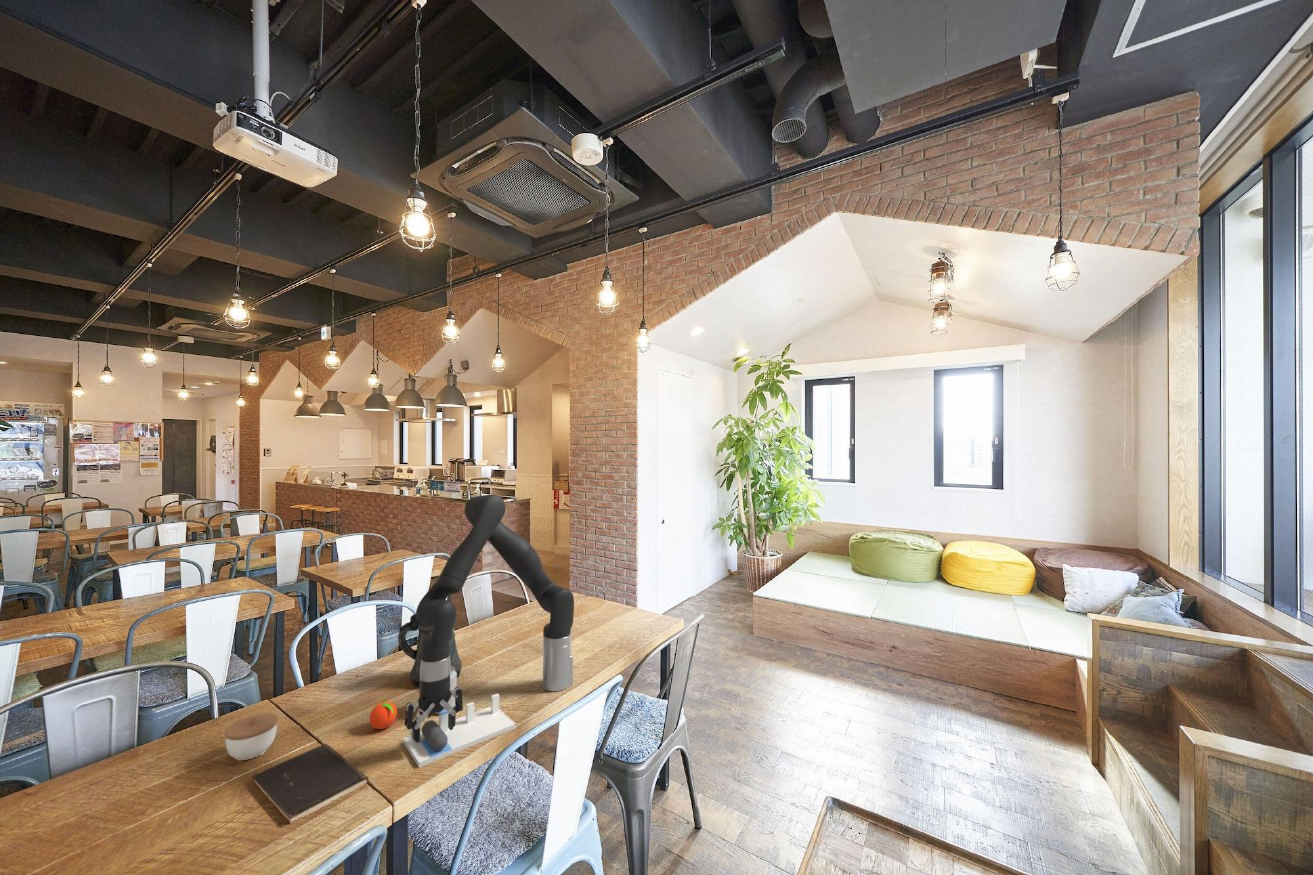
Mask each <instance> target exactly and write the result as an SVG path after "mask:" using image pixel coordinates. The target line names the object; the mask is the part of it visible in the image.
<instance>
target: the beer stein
mask: <svg viewBox="0 0 1313 875" xmlns="http://www.w3.org/2000/svg"><path fill="white" fill-rule="evenodd" d="M409 618H410V619H409V622H406V623H405V624H403V625H402V626H401V627H400V628H399V632H398V637H397V642H398V645H399V647H400V649H401V651H402V652H403V653H404V654H406V656H408V657H409V658H410V659H412V660H414V662H413V664H412V668H411V670H410V678H411V683H412V685H413V686H414V687H417V688H419V689H420V665H421V645H422V640H423V638H424V637H425V636H426V635H428V634H431V633H433V626H429V625H424V624H421V623H419V622H418V621H417V618H416V613H414V614H412V615H411V616H410V617H409ZM417 630H418V636H417V643H416V649H413V648H412V647H411V646H410V645H409V643H408V642H407V640H406V636H407V633H408V632H414V631H417ZM455 636H456V635H455V630H454V628H453V631H452V634H451V638H450V666H451V667H453V668H454V669H455V670H454V671H456V673H457V679H458V678H459V677H460V674H461V672H462V671H461V670H462V666H463V665H462V664H463V663H462V660H461V658H460V656H459V652H458V649H457V644H456V637H455Z"/></svg>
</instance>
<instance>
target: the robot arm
mask: <svg viewBox="0 0 1313 875" xmlns="http://www.w3.org/2000/svg"><path fill="white" fill-rule="evenodd" d="M505 514H506V504H505V501H504V499H503V497H501V496H500V495H498V494H484V495H476V496H474V497H471V498H470V499H468V500H467V501H466V503H465V505H464V515H465V517H466V519H467V521H468V522H469V523H470V524H471V526H472V527H471V529H470V532H469V533H468V534H467V536H466V537H465V538H464V539H463V540H462V542H461V543H460V544H459V545H458V546H457V547H456V549H454V551H453V552H452V554H451V555H450V556H449V558H448V560H447V561H446V563H445V565H444V567H443V569H442V570H441V573H440V574H439V577H438V579H437V580H436V582H434V584H433V585H432V586H431V587H430V588H429V590H427V592H426V593H425V594H424V595H423V597H422V598H421V599H420V601H419V603H418V605H417V607H416V612H415V614H416V618H417V621H418V622H419V623H421V624H424V625H429V626H433V633H431V634H428V635H426V636H425V637H424V638H423V640H422V645H421V665H420V688H419V693H418V694H419V698H418V700H417V701H414V702H411V701H408V702H406V704H405V710H404V711H405V713H404V726H405V727H406V729H407V730H409V731H410V729H412V738H413V740H414V741H416V743H418V742H420V732H421V728H420V727H421V726H422V725H423V723H424V722H425V720H426V719H427V717H429V716H432V715H434V713H437V712H441V711H442V710H443V709H444V708H445V709H446V710H447V711H448V728H449V729H450V730H453V727H455V722H456V721H455V720H456V719H457V718H456V715H457V713H459V712H461V711H463V709H464V707H463V706H464V704H463V702H464V701H463V690H462V689H461V688H460V687H459V686H458V685H457V687H455V689H454V690H451V691H450V671H451V667H450V638H451V634H452V631H453V629H454V628H455V623H456V620H457V608H456V605H455V604H454V602H452V601H450V600H448V599H447V598H448V597H449V596H451V595H454V594H455V595H456V594H458V593H460V592H461V591H462V589H463V587H464V585H465V583H466V582H467V579H468V577H469V575H470V572H472V568H473V566H474V564H475V563H476V560H477V559H478V558H479V555H480V554H481V553H482V550H483V549H484V547H485V546H486V544H487V543H488V542H489V543H490V544H491V546H492V547H493V548H494V549H495V551H496V552H497V553H498V555H500V557H501V558H502V559H503V561H504V562H505V563H506V565H508V567H509V569H511V570H512V572H513V573H514V574H515V575H516V576H517V578H519V579H520V581H521V582H522V583H523V584H524V585H526V587H527V588H528V590H530V592H531V593H532V595H533V597H534V598H535V600H536V602H537V603H538V605H539V607H541V608H542V610H543V611H545V612H546V613H549V614H550V616H549V623H546V625H544V626H543V629H542V630H543V632H542V637H543V638H542V644H543V645H542V652H543V653H542V687H543V689H544V690H545V691H548V692H558V691H563V690H566V689H567V688H569V687H570V686H571V685H573V684H574V683H573V682H574V681H573V680H574V678H573V677H574V670H573V669H574V655H572V654H571V652H572V651H571V645H572V643H571V640H572V637H571V636H572V635H571V633H572V632H571V630H572V627H573V626H574V625H573V624H574V616H575V614H574V612H575V598H574V594H573V592H572V591H571V590H570V589H568V588H565V587H562V586H560V585H558V584H557V583H555V582H554V581H553V580H552V579H551V578H550V577H549V576H548V575H547V574H546V572H545V571H544V568H543V564H542V560H541V558H540V556H539V554H538V553H537V551H536V550H535V548H534V547H533V546H532V544H530V543H529V541H527V540H526V538H524V537H522V536H521V535H520V534H518V533H517V532H515V531H513V530H512V529H510V528H509V527H507V525H506V524H504V523H503V522H502V520H503V518H504V515H505ZM452 695H453V697H454V698H455V707H453V708H452V707H451V706H450V705H449V704H448V701H449V700H450V698H451V696H452ZM418 707H419V709H418V711H417V712H416V710H417V708H418ZM414 712H416V716H415V717H414Z"/></svg>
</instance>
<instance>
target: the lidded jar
mask: <svg viewBox="0 0 1313 875" xmlns="http://www.w3.org/2000/svg"><path fill="white" fill-rule="evenodd" d="M278 722H279V716H278V715H277V714H275V713H271V712H270V713H268V712H267V713H258V714H253V715H250V716H248V717H245V718H242V719H239V720H237V721H235V722H234V723H232V724H231V725H229V726H228V727H227V728H226V729H225V731H224V737H225V738H224V739H225V741H224V742H225V743H224V744H225V749H226V752H227V754H228V755H229V756H230V757H231V758H233V759H235V760H236V759H238V760H246V759H251V760H253V759H252V758H254V757H257V756H258V755H261V754H262V755H263V754H265V753H266V752H267V750H268V749H269V748H270V747H271V746H272V743H274V740H275V738H276V735H277V731H278ZM264 752H265V753H264ZM262 755H261V756H262ZM257 758H258V757H257ZM254 759H255V758H254Z"/></svg>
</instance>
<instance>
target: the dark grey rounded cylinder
mask: <svg viewBox="0 0 1313 875" xmlns="http://www.w3.org/2000/svg"><path fill="white" fill-rule="evenodd" d="M421 732H422V734H423V736H424V737H425V738H426V740H427V741H428V743H429V744H430V745H431V747H432V748H433V749H434V750H436V751H439V750H442V749H443V748H444V747H445V746H446V744H447V742H448V738H447V735H446V734H445V733H444V732H443V730H442V729H441V728H440V727H439V723H437V721H435V720H432V719H429V720H427V721H426V722H424V724H422V727H421Z"/></svg>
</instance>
